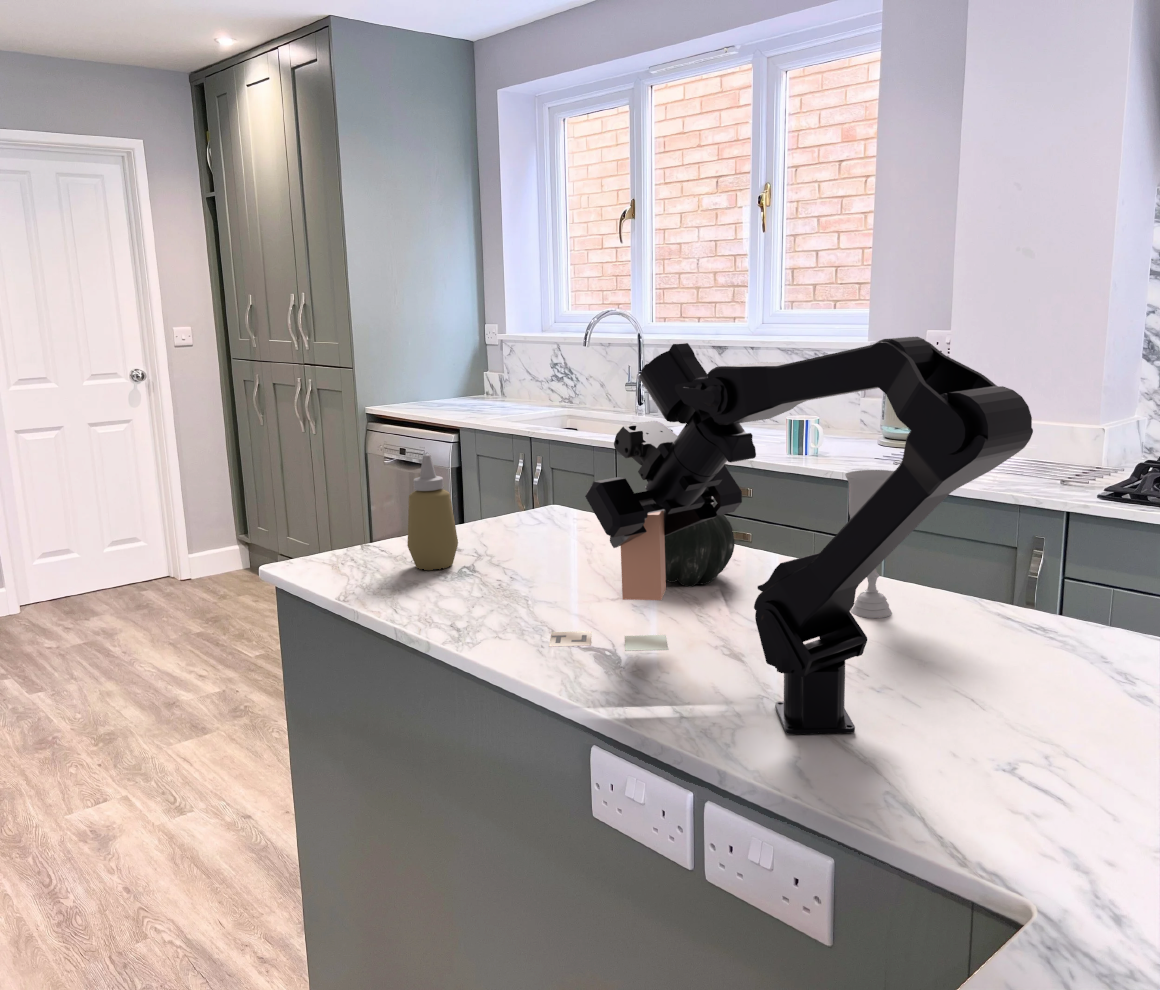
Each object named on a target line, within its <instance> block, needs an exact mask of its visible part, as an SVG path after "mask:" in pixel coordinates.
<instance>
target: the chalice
mask: <svg viewBox="0 0 1160 990" xmlns="http://www.w3.org/2000/svg"><path fill="white" fill-rule="evenodd" d="M894 471H895V470H889V469H887V470H886V469H885V470H884V469H883V470H882V469H867V470H865V469H864V470H855V471H853V470H852V471H850V472H849V471H848V472H846V473H845V478H846V480H847V482H848V485H849V487H848V488H849V489H848V515H849V517H850V519H851V518H852V517H853V516H854V515H855V514H856V513H857V512H858V510H859V509H860V508H861V507H862V506H863V505H864V504H865V503H866V502H867V501H868V499H869V498H870V497H871V496H872V495H873V494H874V493H875V492H876V491H877V490H878V489H879V487H880V486H881V485H882V484H883V483H884V482H885V481H886V480H887V479H888V478H889V476H890V475H891V474H892V473H893V472H894ZM879 577H880V574H879V573H878V572H877V567H876V568H875V569H874V570H873V571H872V572H871V573H870V574H869V575H868V576H867V577H866V578H867V583H868V585H867V588H866V589H864V590H865V591H863V592H860V593H859V595H857V597H856V599H855V600H854V606H853V607H852V609H851V610H850V613H851V614H852V615H855V616H858V617H861V618H868V619H879V618H880V619H881V618H888V617H889V616H891V615H892V613H893V612H892V610H891V608H890V604H889V603H888V601H887V598H886V595H884V593H881V592H879V590H878V589H877V581H878V578H879Z"/></svg>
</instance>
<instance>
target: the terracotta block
mask: <svg viewBox="0 0 1160 990" xmlns="http://www.w3.org/2000/svg"><path fill="white" fill-rule="evenodd" d="M643 526H644V527H645V529H646V531H647V532H646V533H644V534H642V535H640V536H638V537H636V538H634V539H632V540H631V541H629V542H627V543H625V544H623V545H621V546H620V561H621V563H620V565H621V592H622V593H621V594H622V601H623V600H628V601H630V600H631V601H632V600H633V601H662V599H663V597H664V594H665V593H666V590H667V583H666V582H667V580H666V573H665V537H664V511H660V512H655V513H650V514H648V517H647V518H646V519H645V523H644V524H643Z"/></svg>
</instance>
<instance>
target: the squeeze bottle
mask: <svg viewBox="0 0 1160 990" xmlns="http://www.w3.org/2000/svg"><path fill="white" fill-rule="evenodd" d="M421 460H422V461H421V466H420V471H419V472H420V473H419V476H418V477H415V478H413V489H414V491H412V492H411V493H410V494H409V495H408V507H407V508H408V515H407V516H408V517H407V548H408V551H409V553H410V556H411V558H412V561H413V563H414V565H415V567H416V568H417V569H418V568H419V570H422V569H424V571H434V570H433V569H439V570H442V569H441V568H443V569H447V568H450V567H451V566H452V565H453V564H454V560H455V557H456V554H457V549H458V546H459V539H458V534H457V528H456V522H455V516H454V509H453V504H452V498H451V493H450V492H449V491H448V490H446V489H443V488H444V484H445V483H444V477H443V476H439V475H437V474H436V470H435V467H434V464H433V460H432V457H431V455H430V454H424V455H422V459H421ZM449 566H450V567H449Z"/></svg>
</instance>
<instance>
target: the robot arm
mask: <svg viewBox="0 0 1160 990" xmlns="http://www.w3.org/2000/svg"><path fill="white" fill-rule="evenodd" d="M639 379H640V382H641V384H642V385H643V386H644V388H645V389H646V391H647V392H648V394H649V396H650V397H651V399H652V400H653V402H654V404H655V406H656V407H657V409H658V410H659V412H660V413H661V414H662V416H663V418H664V419H665V420H666V422H670V423H679V424H681V425H683V424H685V425H684V426H683V428H682V430H680V432H679V433H678V434H676V433H675V432H673V431H672V430H671V429H670V428H669V427H668V426H667V425H665V424H663V423H662V422H660V421H657V420H649V421H641V422H634V423H630V424H628V425H623V426H622V427H621V428H620V429H619V431H618V432H617V433H616V435H615V439H614V442H613V446H614V449H615V451H617V453H619V454H620V455H621V456H623V458H625V459H630V458H632V460H634V461H635V462H636V463H638V464H639V465H640V468H639V469H638V471H637V473H638V474H639V476H640V477H641V479H642V481H645V480H646V481H647V484H646V485H645V487H644V488H645V491H640V492H639V491H638V492H634V490H633V488H632V487H631V485H630V483H629V481H628V480H627V478H625V477H620V476H618V477H617V476H616V477H611V478H610V477H609V478H606V479H599V480H594V481H593V482H592V484H591V485H590V486H589V488H588V489H587V492H586V494H585V499H586V501H587V502H588V504H589V505H590V508H591V509H592V511H593V513H594V515H595V516H596V518H597V520H598V522H599V524H600V526H601V527H602V529H603V531H604V532H605V534H606V535H607V536H609V543H610V545H611V546H612V548H613V549H617V548H619V547H621V545H623V544H625V543H627V542H629V541H631V540H632V539H634V538H636V537H638V536H640V535H642V534H644V533H646V532H647V531H646V529H645V527H644V526H643V524H644V523H645V519H646V518H647V517H648V514H650V513H655V512H660V511H665V513H664V536H667V535H670V534H672V533H675V532H677V531H680V530H682V529H685V528H688V527H690V526H693V525H696V524H698V523H701V522H704V521H706V520H709V519H712V518H715V517H716V516H717V515H721V514H724V515H726V514H731V513H734V512H735V511H736V510H737V509H738V508H739V506H740V505H741V504H742V503H743V493H742V492H743V491H742V489H741V488H740V487H739V485H738V484H737V482H736V480H735V479H734V477H733V475H732V474H731V473H730V471H729V469H728V468H727V467H726V465H725V464H726V463H727V462H728V463H736V462H737V463H738V462H741V461H742V462H743V461H748V460H754V459H755V458H757V452H756V446H755V444H754V442H753V434H752V433H751V432H746V431H745V429H744V427H743V426H742V424H743V423H752V422H756V421H765V420H769V419H773V418H775V417H777V416H779V415H782V414H784V413H788V412H789V411H791V410H793V409H794V408H795V407H796V406H799V405H800V404H803V403H805V402H807V401H808V402H809V401H813V400H818V399H819V400H820V399H824V398H829V397H835V396H836V397H837V396H840V395H846V394H852V393H858V392H863V391H864V392H865V391H869V390H870V391H871V390H876V389H880V390H881V392H882V393H884V394H885V395H886V397H887V399H888V401H889V403H890V406H891V408H892V410H893V412H894V414H895V415H896V418H897V419H898V420H899V421H900V422H901V423H902V424H903V425H904V426H906V427H907V428H908V429H909V430H910V431H909V432H908V434H907V436H906V438H905V439H906V440H905V443H904V450H903V456H902V461H901V462H900V464H899V465H898V466H897V468H895V470H893V471H894V472H893V473H892V474H891V475H890V476H889V478H888V479H887V480H886V481H885V482H884V483H883V484H882V485H881V486H880V487H879V489H878V490H877V491H876V492H875V493H874V494H873V495H872V496H871V497H870V498H869V499H868V501H867V502H866V503H865V504H864V505H863V506H862V507H861V508H860V509H859V510H858V512H857V513H856V514H855V515H854V516H853V517H852V518H850V519H849V520H848V521H847V523H845V525H844V526H842V528H841V529H840V530H839V531H838V532H837V533H836V534H835V536H834V537H833V538H832V539H831V540H830V541H829V542H828V543H827V545H826V546H825V547H824V548H823V549H822V550H821V551H820V552H817V553H813V554H809V555H805V556H803V557H798V558H794V559H791V560H787V561H783V562H780V563H779V564H778V565H777V566H776V567H775V568H774V570H773V572H772V573H771V575H770V577H769V578H768V579H767V580H766V581H765V582H764V583H762V584H760V585H757V590H758V591H760V593H759V594H758V596H757V597H756V599H755V601H754V604H753V609H754V610H755V617H754V618H755V624H756V628H757V632H758V635H759V639H760V643H761V647H762V651H763V655H764V658H765V662H766V664H767V665H769V666H772V667H774V668H775V669H776V672H777V673H779V674H783V700H782V701H776V702H774V703H775V705H774V708H775V710H776V713H777V715H778V717H779V720H780V724H781V725H782V727H783V729H784V732H785V733H786V734H788V735H789V734H790V735H794V734H795V735H799V734H803V735H804V734H805V735H807V734H808V735H809V734H810V735H811V734H845V733H846V734H847V733H849V734H851V733H854V732H855V731H856V726H855V724H854V722H853V720H852V719H851V717H850V715H849V713H848V712H847V710H846V708H845V696H846V695H845V694H846V693H845V692H846V691H845V690H846V688H845V687H846V661H848V660H850V659H852V658H854V657H855V658H857V657H860V656H863V654H864V651H865V647H866V646H867V643H868V637H867V635H866V633H865V632H864V631H863V629H862V628H861V626H860V624H859V623H858V621H856V618H855V617H854V616H853V613H852V612H851V610H852V608H853V607H854V603H855V601H856V592H857V588H858V586H860V584H861V583H862V582H863V581H864V580H866V578H867V576H868V575H869V574H870V573H871V572H872V571H873V570H874V569H875V568H876V569H877V567H878V566H879V565H880V564H881V563H882V562H883V561H884V560H885V559H886V558H887V557H888V556H890V554H891V553H893V552H894V550H895V549H897V548H898V547H899V545H900V544H901V543H903V542H904V540H906V538H907V537H908V536H910V534H911V533H912V532H913V531H915V529H917V527H918V526H920V524H922V522H923V521H924V520H925V519H926V518H927V517H928V516H929V515H930V514H931V513H932V512H933V511H934V510H935V509H936V508H937V507H939V506H940V504H942V502H944V501H945V499H946V498H948V496H949V495H950V494H951V493H953V492H955V491H956V490H957V489H959V488H961V487H962V486H964V485H967V484H968V483H970V482H972V481H973V480H976V479H978V478H980V477H981V476H983V475H985V474H987V473H989V472H991V471H993V470H994V469H996V468H997V467H999V466H1000V465H1002V464H1003V463H1004V462H1007V461H1008V460H1010V459H1011V458H1013V457H1014V456H1015V455H1017V454H1018V453H1020V452H1021V451H1022V450H1023V449H1025V447H1026V446H1027V445H1028V443H1029V442H1030V440H1031V438H1032V435H1033V434H1034V433H1033V432H1034V430H1033V427H1032V423H1033V422H1032V421H1033V419H1032V418H1033V417H1032V413H1031V410H1030V406H1029V405H1028V404H1027V402H1026V401H1025V398H1023V396H1021V394H1019V393H1017V392H1016V390H1014V389H1011V388H1009V387H1006V386H1003V385H1001V386H1000V385H999V386H998V385H997V384H995V383H994V382H993V381H992V380H991V379H990V378H988V377H987V376H986V375H984V374H982V372H981V373H980V372H979V371H976V370H975V369H973V368H971V367H969V366H967V365H965V364H963V363H961V362H960V361H958V360H956V359H954V358H952V357H950V356H948V355H946V354H944V353H943V352H942V351H941V350H939V349H938V348H937V347H935V346H934V345H933V344H932V343H931V342H929V341H927V340H925V338H922V337H919V336H904V337H893V338H883V339H881V340H879V341H876V342H875V343H873V344H869V345H865V346H860V347H857V348H851V349H846V350H843V351H839V352H833V353H829V354H824V355H820V356H815V357H811V358H807V359H802V360H798V361H795V362H782V361H781V362H768V361H766V362H763V361H761V362H755V363H754V362H753V363H742V364H730V365H729V364H728V365H720V366H715V367H713V368H712V369H711V370H709V372H706V369H705V368H704V367H703V365H702V364H701V363H700V362H699V360H698V358H697V357H696V355H695V352H694V350H693V349H692V347H691V345H690V344H689V343H688V342H683V343H682V342H681V343H680V342H679V343H672V345H671V347H670V348H669V349H668V350H667V351H665V352H662V353H660V354H659V355H657V356H656V357H654V358H653V359H652V360H651V361H649V363H646V364H644V366H643V368H642V369H641V371H640V374H639ZM714 502H715V503H716V504H717V505H716V506H715V507H713V505H712V504H713V503H714ZM817 638H819V639H817ZM814 639H816V640H814ZM811 640H813V641H811ZM807 641H808V643H806V642H807ZM809 641H810V642H809Z"/></svg>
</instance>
